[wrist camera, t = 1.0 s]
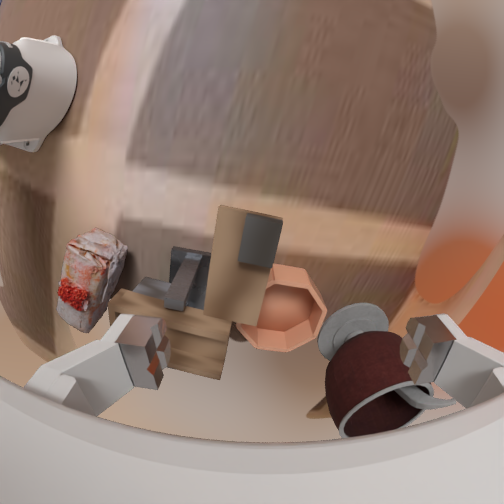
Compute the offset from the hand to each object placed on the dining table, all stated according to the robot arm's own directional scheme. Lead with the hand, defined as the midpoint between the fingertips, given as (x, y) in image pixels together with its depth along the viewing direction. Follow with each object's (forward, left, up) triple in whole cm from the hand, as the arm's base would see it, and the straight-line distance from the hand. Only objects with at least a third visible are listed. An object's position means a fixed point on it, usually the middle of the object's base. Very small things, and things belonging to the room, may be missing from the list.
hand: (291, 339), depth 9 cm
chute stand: (-7, -15, -27) cm, 32 cm away
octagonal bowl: (+5, -15, -27) cm, 31 cm away
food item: (-21, -15, -27) cm, 38 cm away
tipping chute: (-6, -9, -22) cm, 25 cm away
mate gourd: (+20, -19, -27) cm, 39 cm away
